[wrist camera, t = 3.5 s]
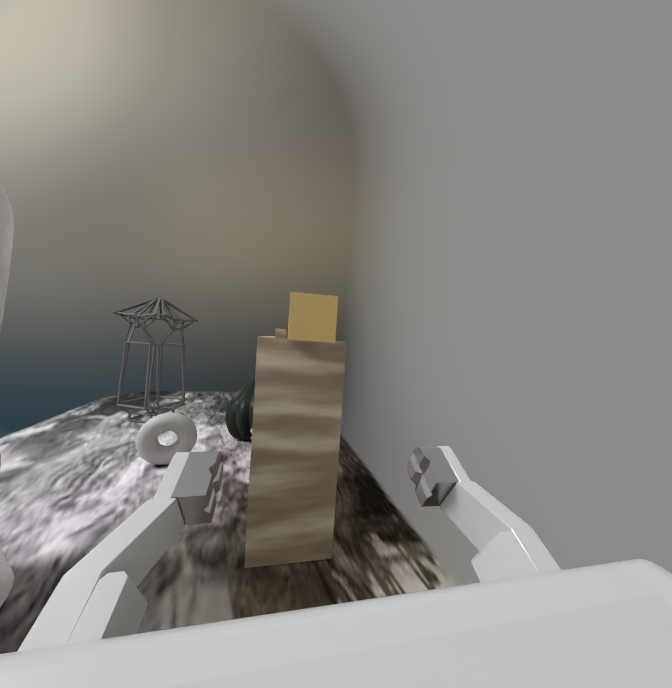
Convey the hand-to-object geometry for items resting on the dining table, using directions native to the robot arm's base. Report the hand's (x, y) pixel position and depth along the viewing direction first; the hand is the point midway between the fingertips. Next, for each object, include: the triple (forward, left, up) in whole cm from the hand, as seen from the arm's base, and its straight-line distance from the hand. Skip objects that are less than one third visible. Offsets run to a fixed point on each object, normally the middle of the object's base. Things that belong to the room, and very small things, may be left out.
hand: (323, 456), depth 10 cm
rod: (+15, +15, +5) cm, 22 cm away
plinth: (+18, +19, -21) cm, 34 cm away
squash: (+33, +46, -22) cm, 61 cm away
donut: (+13, +47, -22) cm, 53 cm away
